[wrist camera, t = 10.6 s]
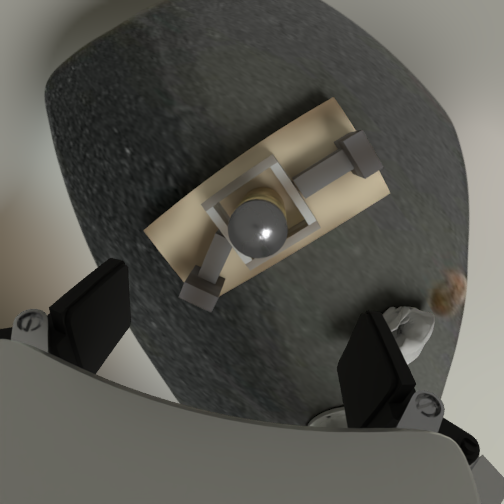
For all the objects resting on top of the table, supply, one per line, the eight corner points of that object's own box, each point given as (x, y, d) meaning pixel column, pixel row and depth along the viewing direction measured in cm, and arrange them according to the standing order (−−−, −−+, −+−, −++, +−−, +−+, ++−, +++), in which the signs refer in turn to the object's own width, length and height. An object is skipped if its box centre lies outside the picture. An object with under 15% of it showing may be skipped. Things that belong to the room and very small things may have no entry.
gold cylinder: (293, 214, 26) (299, 237, 20) (257, 238, 28) (251, 268, 21) (267, 178, 25) (264, 188, 19) (231, 204, 27) (215, 223, 20)
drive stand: (383, 189, 26) (406, 201, 21) (207, 296, 33) (194, 325, 28) (329, 100, 24) (343, 89, 18) (151, 225, 30) (126, 242, 25)
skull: (437, 337, 30) (397, 407, 25) (386, 324, 37) (342, 383, 32) (439, 295, 27) (398, 372, 22) (381, 284, 34) (331, 346, 29)
